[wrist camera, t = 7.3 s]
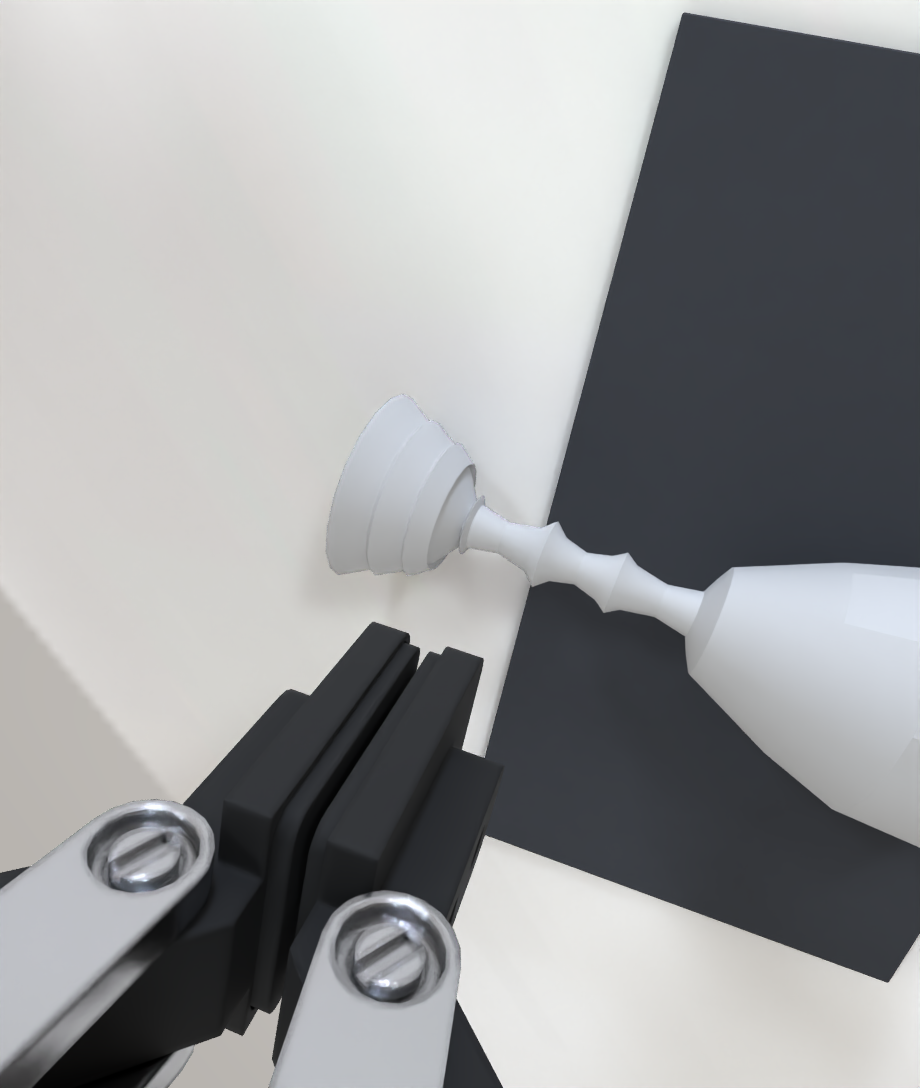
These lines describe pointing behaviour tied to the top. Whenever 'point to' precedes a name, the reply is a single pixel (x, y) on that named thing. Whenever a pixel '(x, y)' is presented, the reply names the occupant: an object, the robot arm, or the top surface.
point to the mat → (733, 485)
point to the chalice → (683, 617)
